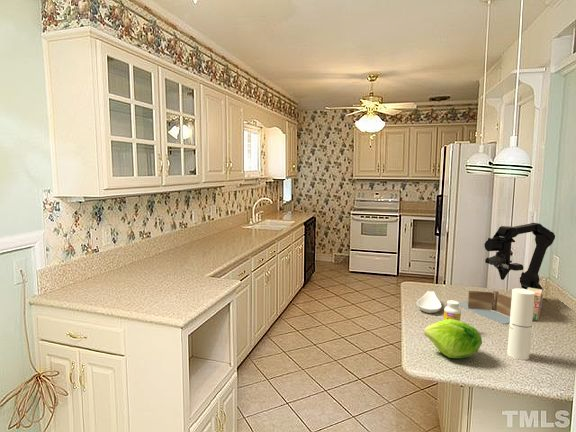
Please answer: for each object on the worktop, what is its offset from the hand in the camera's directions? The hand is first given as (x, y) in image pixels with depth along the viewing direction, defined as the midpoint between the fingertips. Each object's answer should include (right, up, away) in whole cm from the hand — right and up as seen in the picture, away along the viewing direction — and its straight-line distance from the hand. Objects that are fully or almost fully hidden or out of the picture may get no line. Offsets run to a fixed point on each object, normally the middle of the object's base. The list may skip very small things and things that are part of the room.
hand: (502, 279), depth 203 cm
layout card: (-12, -14, -11) cm, 22 cm away
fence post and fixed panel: (-7, -15, -16) cm, 23 cm away
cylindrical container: (-26, -19, -57) cm, 66 cm away
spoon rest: (-41, -14, -5) cm, 43 cm away
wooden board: (-16, -13, -8) cm, 22 cm away
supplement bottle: (-42, -17, -35) cm, 57 cm away
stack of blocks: (+8, -15, -13) cm, 21 cm away
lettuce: (-51, -19, -57) cm, 79 cm away
